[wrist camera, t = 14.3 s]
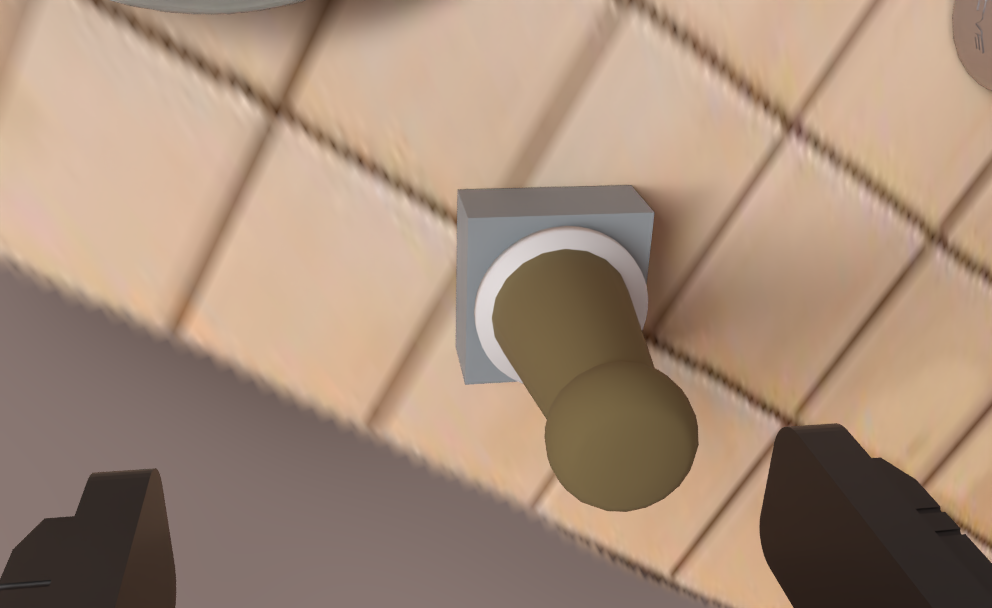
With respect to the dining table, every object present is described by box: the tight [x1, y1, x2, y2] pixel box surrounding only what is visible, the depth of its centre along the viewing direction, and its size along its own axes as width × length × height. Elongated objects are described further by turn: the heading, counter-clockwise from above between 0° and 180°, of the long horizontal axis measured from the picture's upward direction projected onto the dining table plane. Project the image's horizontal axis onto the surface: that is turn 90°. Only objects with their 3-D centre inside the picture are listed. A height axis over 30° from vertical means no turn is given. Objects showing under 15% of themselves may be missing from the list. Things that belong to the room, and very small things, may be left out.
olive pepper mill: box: [492, 249, 699, 512], centre depth 36 cm, size 6×6×11 cm
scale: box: [456, 185, 654, 385], centre depth 43 cm, size 8×8×5 cm
